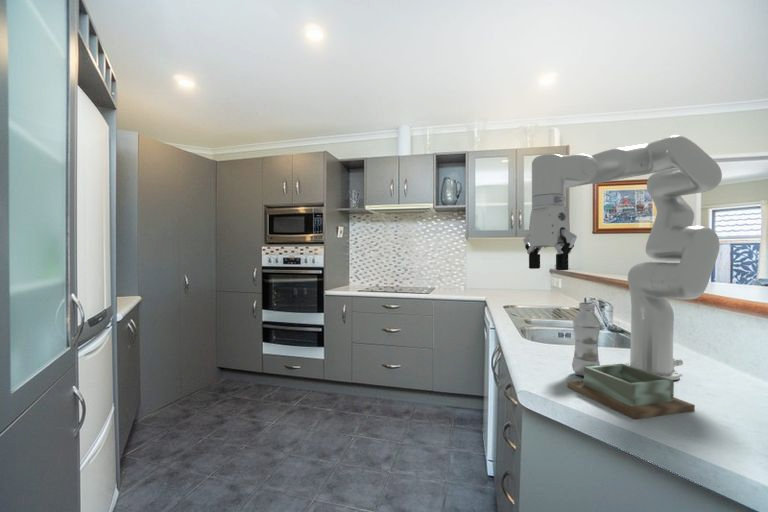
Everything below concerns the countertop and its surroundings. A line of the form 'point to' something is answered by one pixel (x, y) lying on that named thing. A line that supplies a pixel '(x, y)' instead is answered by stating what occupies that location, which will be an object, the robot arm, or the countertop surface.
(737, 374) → the countertop surface
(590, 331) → the plastic bottle
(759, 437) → the countertop surface
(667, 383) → the green open box
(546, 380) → the countertop surface
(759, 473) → the countertop surface
